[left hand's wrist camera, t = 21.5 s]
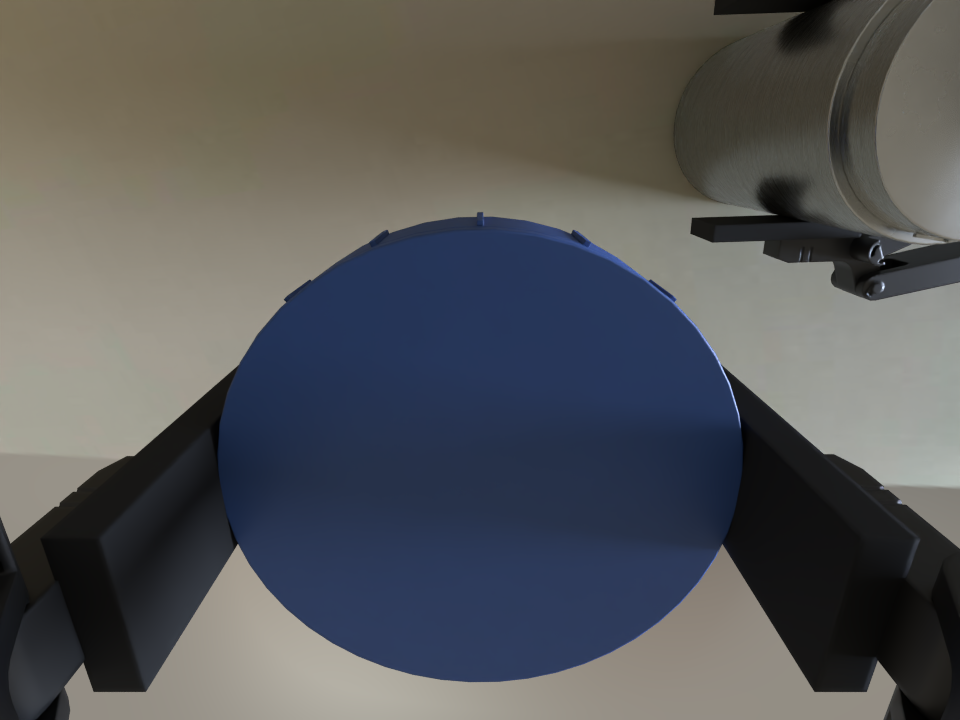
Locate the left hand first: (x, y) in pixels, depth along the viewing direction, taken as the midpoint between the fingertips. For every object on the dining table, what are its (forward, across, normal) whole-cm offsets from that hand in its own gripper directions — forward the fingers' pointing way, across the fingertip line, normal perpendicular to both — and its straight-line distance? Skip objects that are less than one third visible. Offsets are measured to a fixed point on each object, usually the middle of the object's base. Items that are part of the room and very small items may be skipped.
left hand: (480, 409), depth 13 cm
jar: (+20, +15, +7) cm, 26 cm away
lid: (-3, 0, 0) cm, 3 cm away
